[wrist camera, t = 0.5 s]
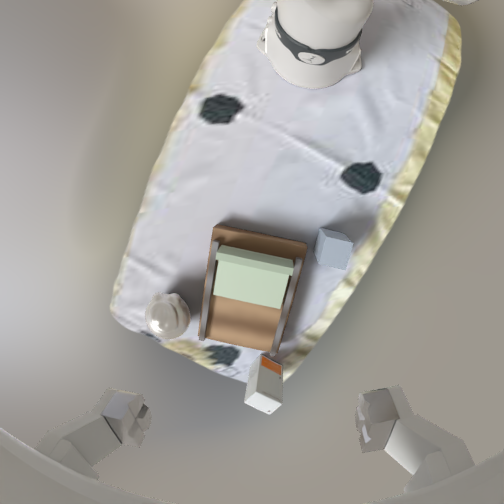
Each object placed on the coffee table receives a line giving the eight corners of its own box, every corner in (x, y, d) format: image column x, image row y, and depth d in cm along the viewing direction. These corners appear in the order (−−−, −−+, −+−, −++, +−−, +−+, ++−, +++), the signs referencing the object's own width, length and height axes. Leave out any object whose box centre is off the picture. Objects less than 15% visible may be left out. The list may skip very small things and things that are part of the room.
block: (319, 227, 48) (326, 236, 41) (343, 233, 48) (353, 243, 41) (313, 251, 49) (318, 264, 43) (336, 256, 49) (345, 270, 43)
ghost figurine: (206, 304, 54) (192, 330, 45) (180, 331, 57) (164, 359, 47) (170, 274, 53) (150, 296, 44) (147, 304, 56) (126, 328, 46)
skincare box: (283, 365, 57) (283, 404, 45) (272, 376, 58) (270, 415, 47) (260, 352, 56) (256, 391, 45) (249, 364, 58) (243, 403, 46)
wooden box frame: (216, 224, 49) (211, 228, 45) (305, 243, 49) (308, 249, 45) (201, 328, 56) (196, 339, 52) (277, 344, 55) (277, 356, 51)
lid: (221, 244, 47) (216, 252, 43) (292, 259, 47) (293, 268, 42) (214, 292, 50) (208, 303, 45) (280, 306, 49) (280, 318, 45)
